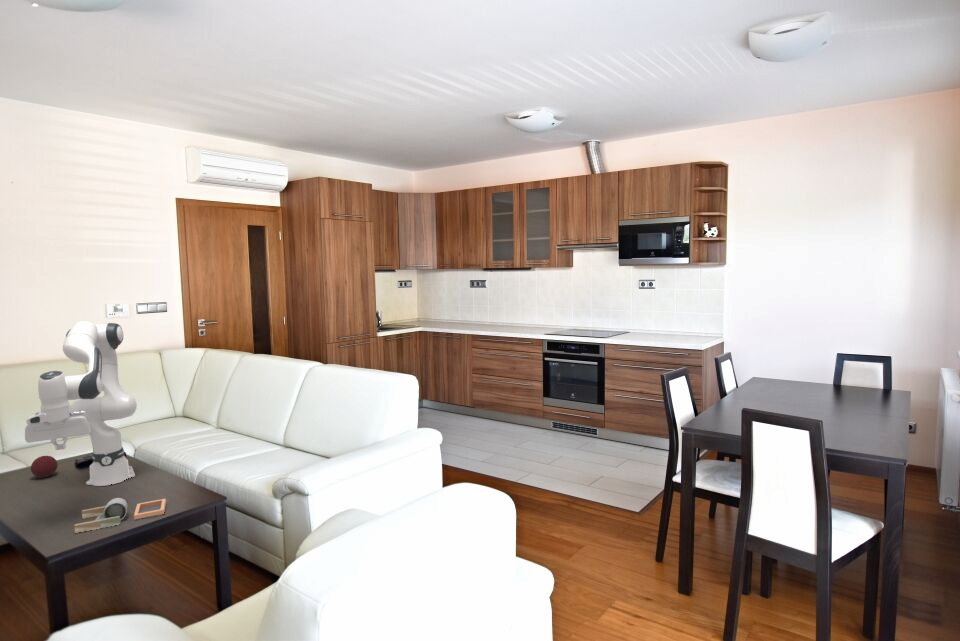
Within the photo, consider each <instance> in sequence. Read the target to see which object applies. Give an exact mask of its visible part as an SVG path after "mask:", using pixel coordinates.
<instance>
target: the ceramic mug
mask: <svg viewBox="0 0 960 641" xmlns="http://www.w3.org/2000/svg"><path fill="white" fill-rule="evenodd" d="M105 506H106V507H105V509H104V512H103V513H102V514H101V515H100V516H96V517H95V520H100V519H105V518H110V517H116V516H120V522H121V521H123V520H124V518H125V517H126V516H127V513H128V507H129V506H128V502H127V501H126V499H124V498H122V497H114V498H112V499H111V500H110V501H108V502H107V504H106V505H105Z"/></svg>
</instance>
